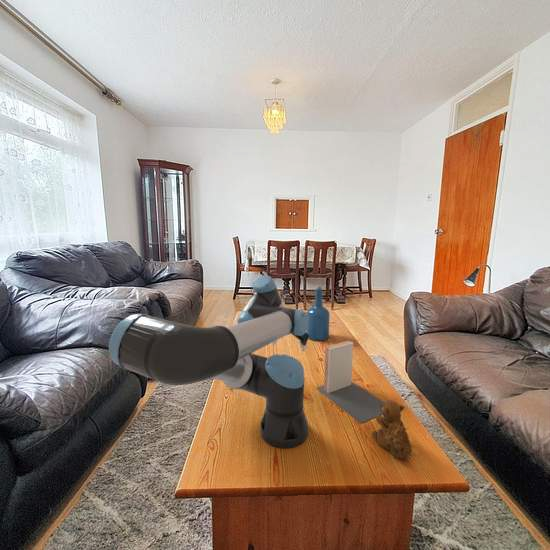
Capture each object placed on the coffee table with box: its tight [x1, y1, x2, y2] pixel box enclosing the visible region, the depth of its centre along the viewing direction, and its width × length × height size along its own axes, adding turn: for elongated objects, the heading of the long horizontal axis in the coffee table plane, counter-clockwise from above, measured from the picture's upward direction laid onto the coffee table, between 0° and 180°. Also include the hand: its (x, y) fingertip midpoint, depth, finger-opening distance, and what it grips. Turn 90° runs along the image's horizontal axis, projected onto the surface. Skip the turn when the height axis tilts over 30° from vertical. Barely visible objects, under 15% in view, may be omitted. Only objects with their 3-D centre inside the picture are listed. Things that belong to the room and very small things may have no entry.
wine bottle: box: [306, 285, 331, 342], centre depth 166 cm, size 14×13×30 cm
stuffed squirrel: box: [371, 399, 413, 460], centre depth 84 cm, size 10×14×13 cm
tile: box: [323, 340, 354, 393], centre depth 114 cm, size 2×12×18 cm, turn 120°
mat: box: [315, 380, 384, 425], centre depth 109 cm, size 24×16×1 cm, turn 30°
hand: (289, 345), depth 120 cm, fingers open, 13 cm apart
